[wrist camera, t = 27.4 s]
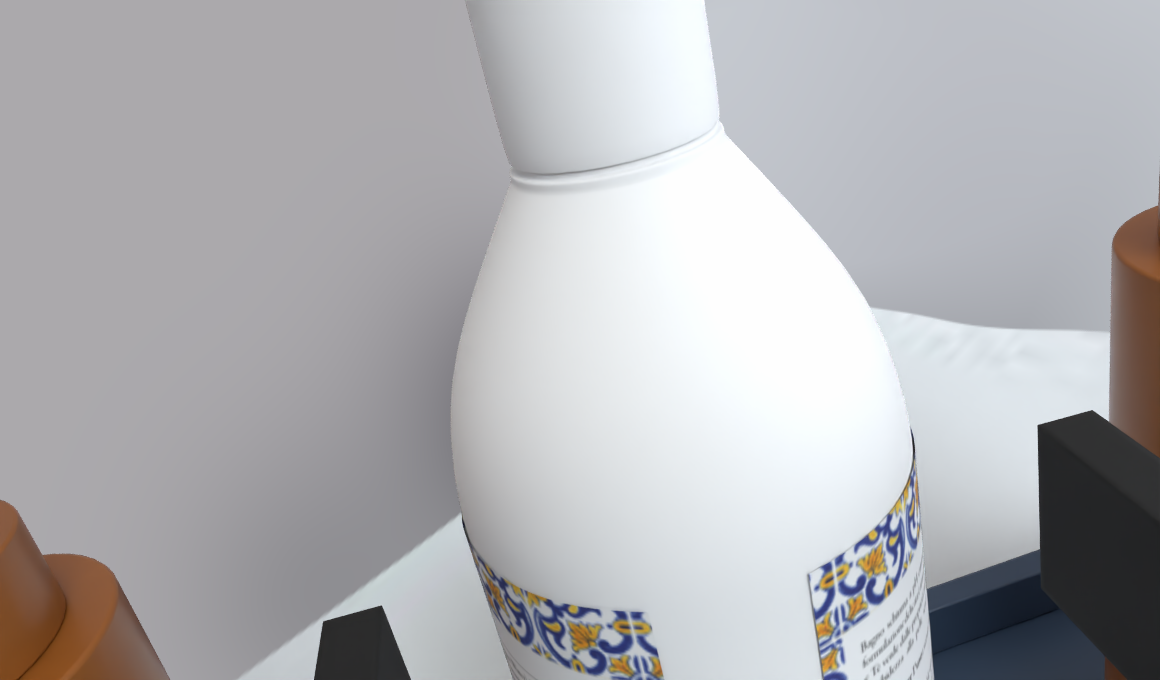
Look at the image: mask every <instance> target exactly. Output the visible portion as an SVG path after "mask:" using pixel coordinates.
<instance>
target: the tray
mask: <svg viewBox="0 0 1160 680" xmlns="http://www.w3.org/2000/svg"><path fill="white" fill-rule="evenodd" d="M927 599H928V611H929V623H930V635H931V647H932V659H933V671H934V680H1105V656H1104V655H1103V654H1102V653H1101V651H1100V650H1099V649H1098V648H1097V647H1096V646H1095V645H1094V644H1093V643H1092V642H1091V641H1090V640H1089V639H1088V638H1087V637H1086V636H1085V634H1084V633H1083V632H1082V631H1081V630H1080V629H1079V628H1078V627H1077V626H1076V625H1075V624H1074V623H1073V622H1072V621H1071V620H1070V619H1069V618H1068V616H1067V615H1066V614H1065V613H1064V612H1063V611H1062V610H1061V609H1060V608H1059V607H1058V606H1057V605H1056V604H1055V603H1054V602H1053V601H1052V599H1051V598H1050V597H1049V596H1048V595H1047V594H1046V593H1045V592H1044V591H1043V590H1042V589H1041V568H1040V549H1039V550H1037V551H1034V552H1031V553H1028V554H1025V555H1022V556H1019V557H1017V558H1014V559H1011V560H1008V561H1005V562H1002V563H1000V564H997V565H994V566H991V567H988V568H985V569H983V570H980V571H977V572H974V573H971V574H968V575H965V576H963V577H960V578H957V579H954V580H951V581H948V582H946V583H943V584H940V585H937V586H934V587H931V588H929V589H927Z"/></svg>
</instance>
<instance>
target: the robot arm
mask: <svg viewBox="0 0 1160 680" xmlns="http://www.w3.org/2000/svg"><path fill="white" fill-rule="evenodd" d="M1038 469H1039V519H1040V568H1041V589H1042V590H1043V591H1044V592H1045V593H1046V594H1047V595H1048V596H1049V597H1050V598H1051V599H1052V601H1053V602H1054V603H1055V604H1056V605H1057V606H1058V607H1059V608H1060V609H1061V610H1062V611H1063V612H1064V613H1065V614H1066V615H1067V616H1068V618H1069V619H1070V620H1071V621H1072V622H1073V623H1074V624H1075V625H1076V626H1077V627H1078V628H1079V629H1080V630H1081V631H1082V632H1083V633H1084V634H1085V636H1086V637H1087V638H1088V639H1089V640H1090V641H1091V642H1092V643H1093V644H1094V645H1095V646H1096V647H1097V648H1098V649H1099V650H1100V651H1101V653H1102V654H1103V655H1104V656H1105V657H1106V658H1107V659H1108V660H1109V661H1110V662H1111V663H1112V664H1113V665H1114V666H1115V667H1116V668H1117V669H1118V671H1119V672H1120V673H1121V674H1122V675H1123V676H1124V677H1125V678H1126V679H1127V680H1160V458H1159V457H1158V456H1156V455H1155V454H1153V453H1152V452H1151V451H1149V450H1148V449H1146V448H1145V447H1144V446H1142V445H1141V444H1139V443H1138V442H1136V441H1135V440H1134V439H1132V438H1131V437H1129V436H1128V435H1127V434H1125V433H1124V432H1122V431H1121V430H1120V429H1118V428H1117V427H1115V426H1114V425H1113V424H1111V423H1110V422H1108V421H1107V420H1105V419H1104V418H1103V417H1101V416H1100V415H1098V414H1097V413H1096V412H1094V411H1093V410H1091V411H1087V412H1084V413H1080V414H1077V415H1073V416H1069V417H1066V418H1062V419H1058V420H1055V421H1051V422H1047V423H1044V424H1040V425H1038ZM314 680H411V679H410V676H409V673H408V671H407V668H406V666H405V663H404V661H403V658H402V656H401V653H400V650H399V648H398V645H397V643H396V640H395V638H394V635H393V632H392V630H391V627H390V625H389V622H388V620H387V617H386V615H385V612H384V609H383V607H382V606H378V607H374V608H371V609H367V610H363V611H360V612H356V613H352V614H349V615H345V616H341V617H338V618H334V619H331V620H327V621H323V626H322V632H321V639H320V645H319V651H318V658H317V664H316V670H315V677H314Z"/></svg>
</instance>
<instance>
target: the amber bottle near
mask: <svg viewBox="0 0 1160 680" xmlns="http://www.w3.org/2000/svg"><path fill="white" fill-rule="evenodd" d="M0 680H170V678H169V677H168V675H167V673H166V671H165V669H164V667H163V665H162V664H161V661H160V660H159V658H158V656H157V654H156V652H155V650H154V648H153V647H152V645H151V643H150V641H149V639H148V637H147V635H146V633H145V631H144V629H143V628H142V626H141V624H140V622H139V620H138V618H137V616H136V614H135V613H134V611H133V609H132V607H131V605H130V603H129V601H128V599H127V597H126V596H125V594H124V592H123V590H122V588H121V586H120V584H119V582H118V581H117V579H116V577H115V575H114V573H113V572H112V571H111V570H110V569H109V568H108V567H107V566H105V565H104V564H102V563H100V562H99V561H97V560H95V559H93V558H89V557H86V556H83V555H75V554H48V555H42V554H41V552H40V550H39V548H38V547H37V545H36V543H35V541H34V540H33V538H32V536H31V534H30V532H29V531H28V529H27V527H26V525H25V524H24V522H23V520H22V518H21V517H20V515H19V513H18V511H17V510H16V509H15V508H14V507H13V506H12V505H10V504H9V503H6V502H5V501H2V500H0Z"/></svg>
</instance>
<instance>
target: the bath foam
mask: <svg viewBox="0 0 1160 680" xmlns="http://www.w3.org/2000/svg"><path fill="white" fill-rule="evenodd" d="M465 2H466V6H467V10H468V14H469V18H470V22H471V26H472V29H473V33H474V37H475V41H476V45H477V49H478V52H479V56H480V60H481V65H482V68H483V72H484V76H485V80H486V84H487V88H488V92H489V95H490V99H491V103H492V107H493V110H494V114H495V118H496V122H497V125H498V128H499V132H500V136H501V139H502V143H503V146H504V150H505V153H506V155H507V158H508V161H509V163H510V164H511V166H512V167H511V169H510V178H511V182H510V185H509V189H508V191H507V194H506V197H505V200H504V203H503V206H502V208H501V212H500V214H499V217H498V220H497V223H496V226H495V229H494V232H493V235H492V237H491V241H490V244H489V246H488V249H487V252H486V255H485V258H484V261H483V264H482V267H481V270H480V273H479V277H478V279H477V282H476V285H475V288H474V291H473V295H472V298H471V301H470V305H469V308H468V312H467V315H466V318H465V322H464V326H463V330H462V334H461V338H460V342H459V347H458V352H457V357H456V363H455V369H454V375H453V381H452V397H451V444H452V455H453V465H454V473H455V480H456V486H457V492H458V498H459V503H460V507H461V512H462V523H463V528H464V531H465V534H466V537H467V540H468V544H469V547H470V550H471V553H472V556H473V559H474V562H475V565H476V568H477V571H478V574H479V577H480V580H481V583H482V586H483V589H484V592H485V595H486V598H487V601H488V604H489V607H490V610H491V613H492V616H493V619H494V622H495V626H496V629H497V632H498V635H499V638H500V641H501V644H502V647H503V650H504V653H505V656H506V659H507V662H508V665H509V668H510V671H511V674H512V677H513V680H934V671H933V659H932V647H931V635H930V623H929V611H928V599H927V587H926V575H925V563H924V551H923V539H922V527H921V515H920V503H919V492H918V480H917V468H916V456H915V444H914V437H913V433H912V430H911V427H910V423H909V418H908V413H907V408H906V403H905V399H904V395H903V391H902V388H901V384H900V380H899V377H898V374H897V371H896V368H895V365H894V362H893V359H892V356H891V353H890V351H889V348H888V346H887V343H886V341H885V339H884V336H883V334H882V331H881V329H880V327H879V324H878V322H877V321H876V319H875V317H874V315H873V313H872V311H871V309H870V307H869V305H868V303H867V302H866V300H865V298H864V296H863V295H862V293H861V292H860V290H859V289H858V287H857V286H856V284H855V282H854V281H853V279H852V278H851V276H850V275H849V273H848V272H847V270H846V269H845V268H844V267H843V265H842V264H841V263H840V261H839V260H838V259H837V257H836V256H835V255H834V254H833V252H832V251H831V250H830V248H829V247H828V246H827V245H826V244H825V242H824V241H823V240H822V239H821V238H820V236H819V235H818V234H817V233H816V232H815V231H814V230H813V228H812V227H811V226H810V225H809V224H808V223H807V221H806V220H805V219H804V218H803V217H802V216H801V215H800V214H799V213H798V212H797V211H796V209H795V208H794V207H793V206H792V205H791V204H790V203H789V202H788V201H787V200H786V198H784V196H783V195H782V194H781V193H780V192H779V191H778V190H777V189H776V188H775V187H774V185H773V184H772V183H771V182H770V181H769V180H768V179H767V178H766V177H765V176H764V175H763V174H762V173H761V172H760V171H759V169H758V168H757V167H756V166H755V165H754V164H753V163H752V162H751V161H750V160H749V159H748V158H747V157H746V156H745V155H744V153H743V152H742V151H741V150H740V149H739V148H738V147H737V146H736V145H735V144H734V143H733V142H732V141H731V140H730V138H729V137H728V136H727V135H726V134H725V132H724V127H723V125H722V123H721V122H719V121H718V120H719V116H720V115H719V102H718V93H717V85H716V78H715V71H714V64H713V57H712V50H711V43H710V37H709V31H708V24H707V18H706V10H705V4H704V0H465Z"/></svg>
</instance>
